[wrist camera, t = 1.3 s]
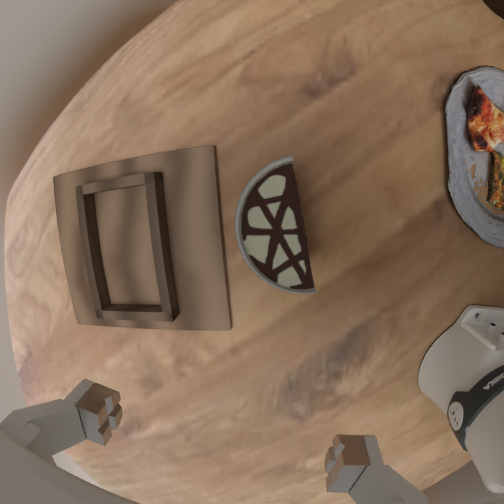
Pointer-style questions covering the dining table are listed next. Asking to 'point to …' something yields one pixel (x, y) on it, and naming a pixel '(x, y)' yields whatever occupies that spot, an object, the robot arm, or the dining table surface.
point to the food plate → (477, 148)
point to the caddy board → (145, 242)
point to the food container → (274, 229)
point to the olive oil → (496, 6)
